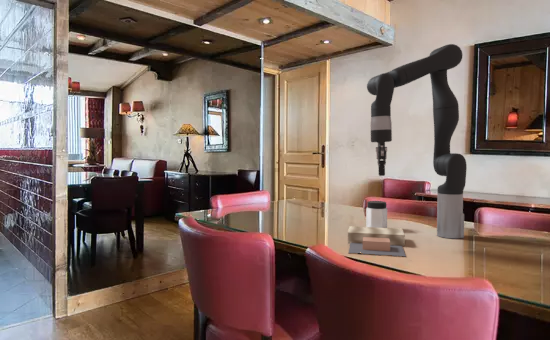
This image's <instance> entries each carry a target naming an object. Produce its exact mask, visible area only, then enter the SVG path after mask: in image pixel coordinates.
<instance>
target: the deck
mask: <svg viewBox="0 0 550 340" xmlns="http://www.w3.org/2000/svg"><path fill="white" fill-rule="evenodd" d="M348 227H349V228H348V229H347V244H350V243H363V237H372V238H389V240H390V245H401V246H402V247H405V242H406V241H405V239H406V238H405V236H406V235H405V233H404V230H403V228H401V227H400V228H399V227H398V228H395V227H387V228H377V227H366V226H354V225H353V226H350V225H349V226H348Z"/></svg>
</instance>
